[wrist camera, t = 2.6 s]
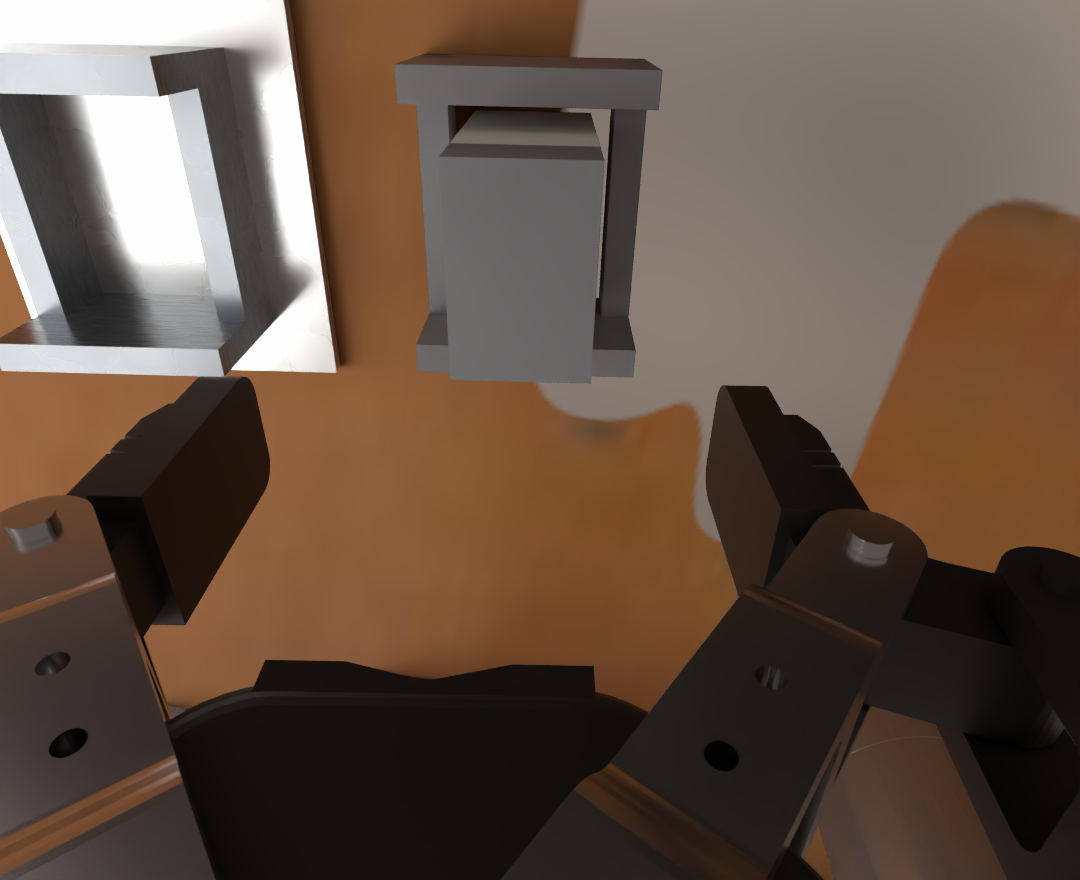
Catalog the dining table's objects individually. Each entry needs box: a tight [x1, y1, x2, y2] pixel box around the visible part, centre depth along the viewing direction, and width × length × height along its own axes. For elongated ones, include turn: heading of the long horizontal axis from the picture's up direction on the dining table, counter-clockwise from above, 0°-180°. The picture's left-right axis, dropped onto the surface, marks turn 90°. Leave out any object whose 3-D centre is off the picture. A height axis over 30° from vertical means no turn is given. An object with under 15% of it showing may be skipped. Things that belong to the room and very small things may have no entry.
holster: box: [395, 54, 662, 377], centre depth 24 cm, size 7×9×5 cm
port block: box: [0, 0, 340, 377], centre depth 24 cm, size 12×14×6 cm
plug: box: [439, 110, 604, 384], centre depth 23 cm, size 4×6×9 cm, turn 179°
